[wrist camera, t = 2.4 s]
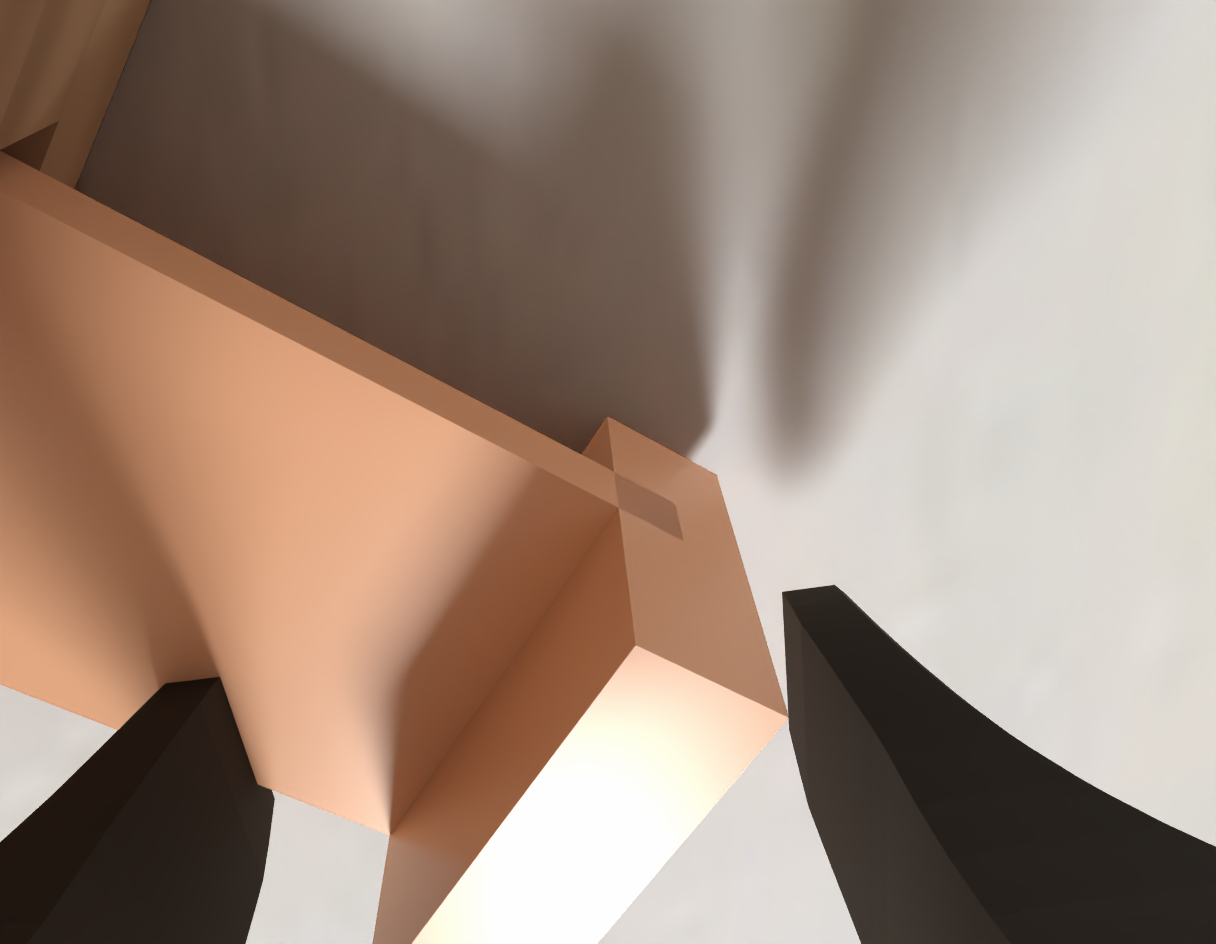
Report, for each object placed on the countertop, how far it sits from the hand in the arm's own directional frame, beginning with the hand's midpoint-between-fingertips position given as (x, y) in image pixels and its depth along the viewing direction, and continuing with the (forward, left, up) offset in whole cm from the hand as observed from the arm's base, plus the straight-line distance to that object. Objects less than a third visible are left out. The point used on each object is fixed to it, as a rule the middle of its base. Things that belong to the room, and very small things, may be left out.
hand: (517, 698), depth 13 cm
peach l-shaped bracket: (+6, 0, -2) cm, 6 cm away
